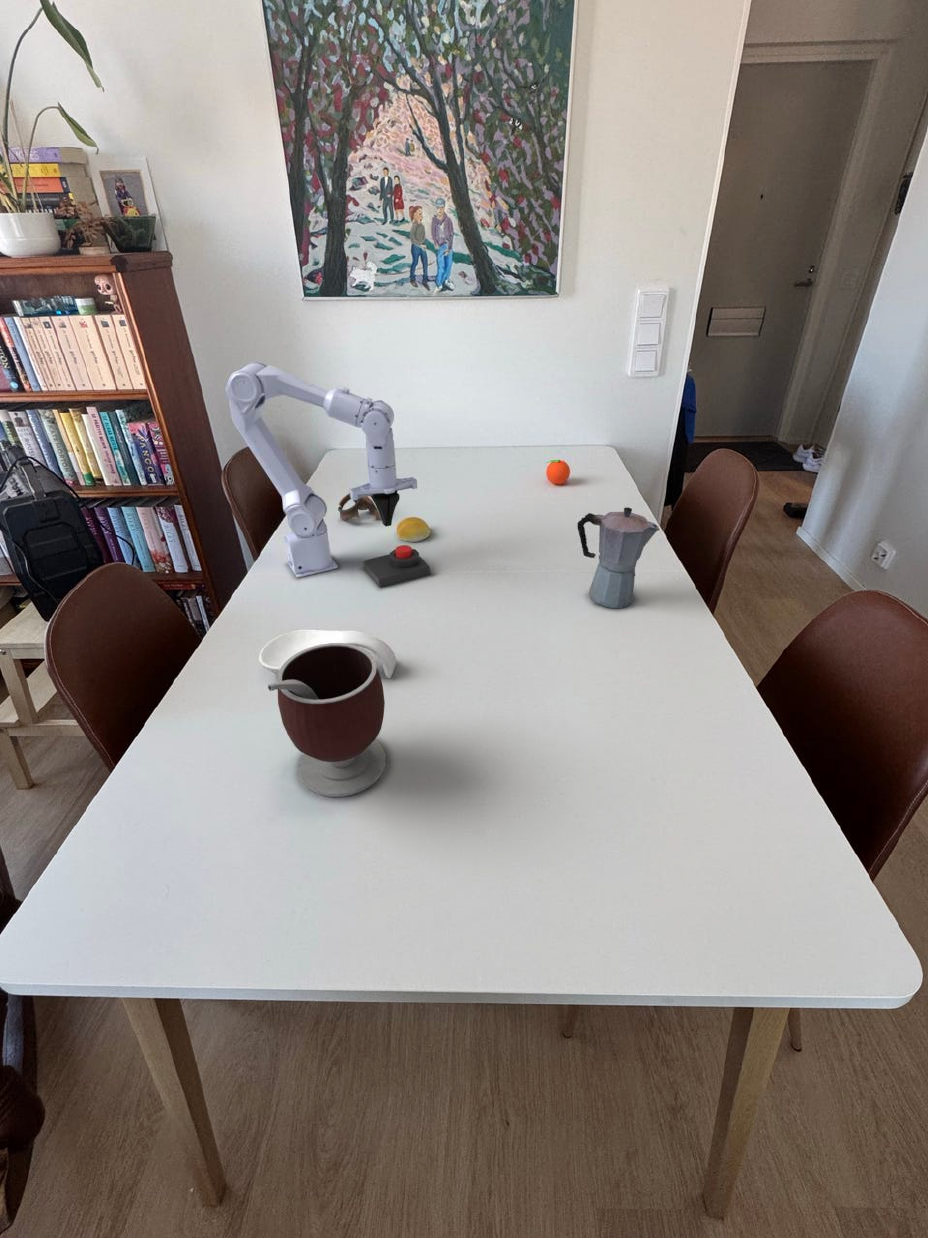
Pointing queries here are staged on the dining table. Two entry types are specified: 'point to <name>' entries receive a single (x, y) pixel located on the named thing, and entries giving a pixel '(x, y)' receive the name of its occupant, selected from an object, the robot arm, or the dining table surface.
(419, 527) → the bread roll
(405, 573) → the push button base
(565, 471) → the clementine
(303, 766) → the mate gourd
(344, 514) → the brown looped frame
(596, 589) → the moka pot
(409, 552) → the power button
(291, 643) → the spoon rest
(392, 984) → the dining table surface
